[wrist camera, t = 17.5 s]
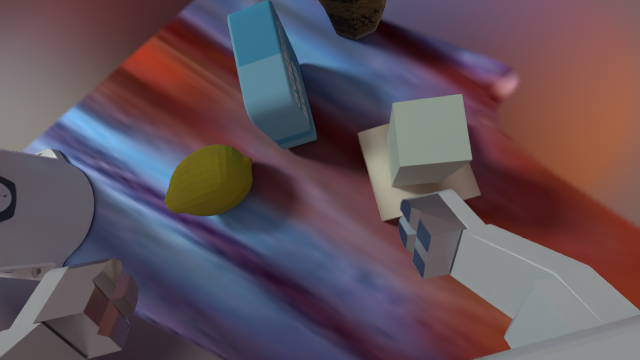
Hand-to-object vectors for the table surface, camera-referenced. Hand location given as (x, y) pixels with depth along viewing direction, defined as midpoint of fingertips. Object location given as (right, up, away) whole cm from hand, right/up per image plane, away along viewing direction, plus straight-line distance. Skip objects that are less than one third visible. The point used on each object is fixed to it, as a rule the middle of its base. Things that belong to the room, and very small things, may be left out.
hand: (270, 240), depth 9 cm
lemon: (-11, +1, +31) cm, 32 cm away
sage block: (+11, +4, +23) cm, 26 cm away
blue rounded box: (-2, +11, +31) cm, 33 cm away
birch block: (+12, +3, +27) cm, 30 cm away
